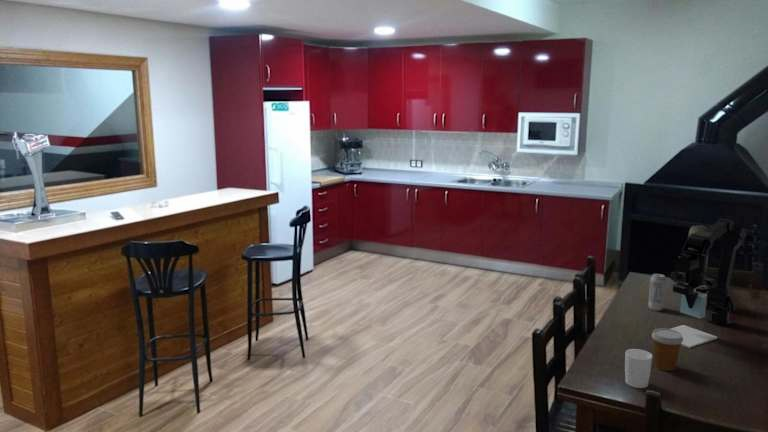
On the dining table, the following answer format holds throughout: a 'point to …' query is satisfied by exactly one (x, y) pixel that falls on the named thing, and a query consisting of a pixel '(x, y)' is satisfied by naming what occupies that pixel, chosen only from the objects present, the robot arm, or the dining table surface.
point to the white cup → (637, 367)
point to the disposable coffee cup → (666, 348)
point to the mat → (693, 336)
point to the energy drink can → (657, 292)
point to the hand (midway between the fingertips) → (693, 307)
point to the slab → (695, 306)
